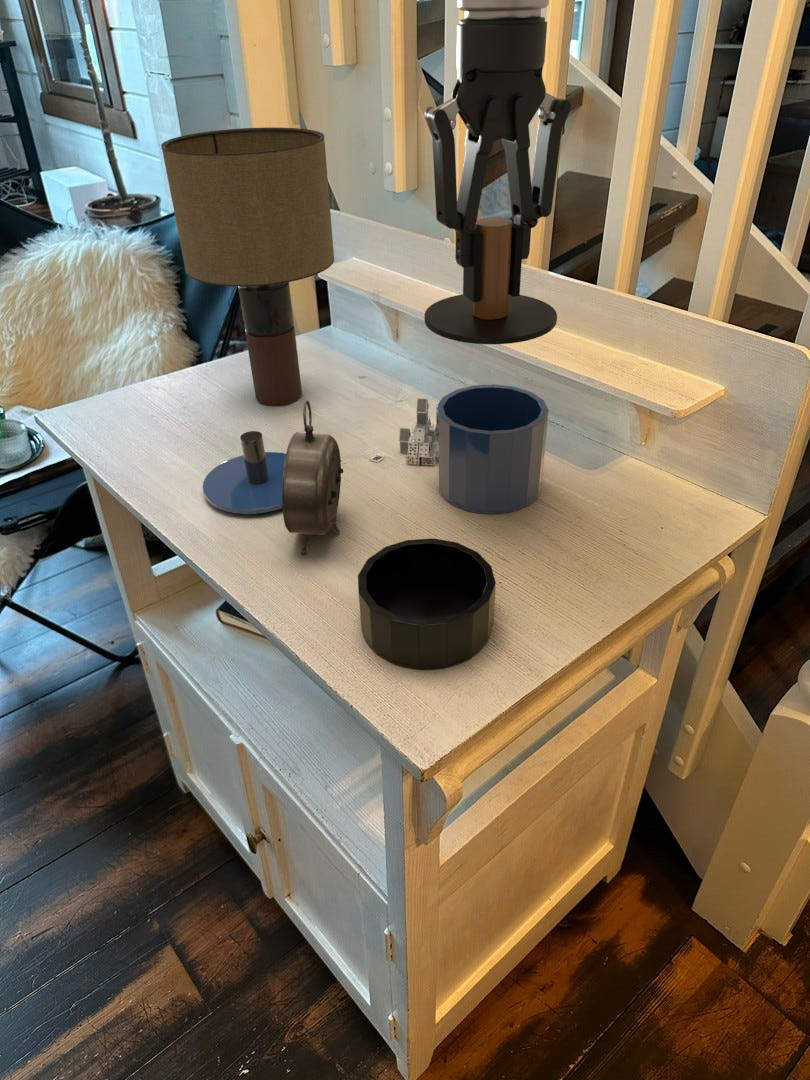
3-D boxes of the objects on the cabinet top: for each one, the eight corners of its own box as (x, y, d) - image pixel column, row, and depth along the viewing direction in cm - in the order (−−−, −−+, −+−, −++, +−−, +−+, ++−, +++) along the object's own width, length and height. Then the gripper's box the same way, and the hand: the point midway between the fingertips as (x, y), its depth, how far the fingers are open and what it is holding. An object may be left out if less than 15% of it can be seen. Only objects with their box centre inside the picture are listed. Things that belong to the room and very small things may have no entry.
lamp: (306, 359, 127) (280, 122, 106) (369, 401, 113) (353, 139, 92) (191, 390, 118) (139, 139, 97) (245, 440, 104) (196, 160, 84)
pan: (517, 616, 74) (521, 572, 70) (436, 691, 66) (436, 645, 63) (418, 566, 81) (418, 523, 77) (334, 629, 73) (329, 585, 70)
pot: (560, 481, 93) (568, 403, 87) (501, 526, 86) (505, 445, 80) (477, 449, 100) (480, 375, 94) (416, 489, 93) (414, 412, 87)
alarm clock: (306, 505, 91) (291, 378, 81) (351, 506, 90) (340, 379, 81) (286, 561, 82) (266, 426, 72) (335, 562, 81) (321, 427, 72)
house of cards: (383, 429, 106) (380, 378, 101) (445, 433, 104) (445, 382, 100) (368, 462, 98) (365, 408, 94) (434, 467, 97) (434, 412, 93)
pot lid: (337, 482, 95) (332, 431, 90) (252, 531, 87) (242, 478, 82) (265, 449, 102) (258, 400, 98) (182, 492, 94) (169, 440, 90)
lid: (581, 320, 79) (592, 216, 73) (506, 361, 71) (512, 249, 65) (476, 294, 87) (478, 199, 80) (397, 330, 78) (394, 226, 72)
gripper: (568, 9, 68) (547, 274, 82) (393, 18, 64) (401, 294, 78) (614, 11, 62) (582, 295, 76) (424, 20, 58) (427, 318, 72)
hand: (491, 294), depth 77 cm, fingers closed on lid, 4 cm apart
